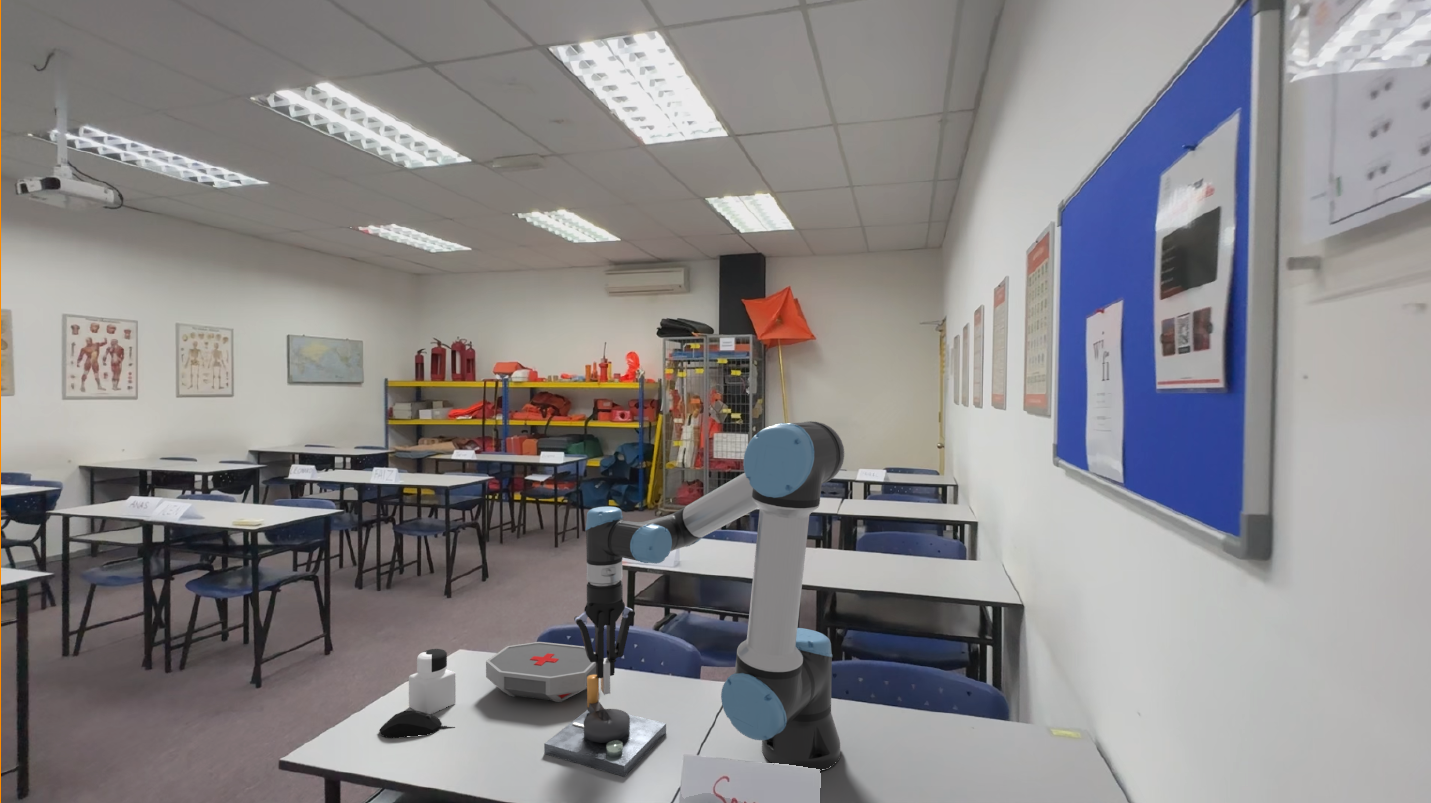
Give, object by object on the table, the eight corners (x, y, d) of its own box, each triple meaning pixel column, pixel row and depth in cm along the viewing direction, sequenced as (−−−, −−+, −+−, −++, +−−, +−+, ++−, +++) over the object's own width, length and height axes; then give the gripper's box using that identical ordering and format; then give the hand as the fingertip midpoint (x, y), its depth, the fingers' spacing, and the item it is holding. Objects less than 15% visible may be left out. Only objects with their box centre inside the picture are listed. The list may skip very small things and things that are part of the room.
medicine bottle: (438, 694, 145) (438, 643, 145) (456, 703, 141) (455, 650, 141) (408, 707, 139) (407, 653, 139) (425, 717, 135) (425, 661, 135)
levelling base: (666, 732, 129) (666, 716, 129) (624, 776, 114) (624, 758, 114) (592, 714, 136) (592, 699, 136) (544, 753, 121) (544, 736, 121)
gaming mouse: (450, 737, 128) (450, 717, 128) (374, 740, 127) (374, 721, 127) (460, 721, 134) (459, 702, 134) (387, 724, 133) (387, 705, 133)
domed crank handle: (636, 734, 123) (636, 699, 123) (592, 747, 119) (591, 710, 119) (611, 702, 136) (611, 670, 136) (570, 712, 132) (570, 679, 132)
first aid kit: (474, 702, 142) (576, 715, 136) (474, 669, 142) (576, 681, 136) (516, 668, 159) (608, 679, 153) (516, 639, 159) (608, 648, 153)
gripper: (578, 590, 127) (579, 705, 128) (639, 581, 133) (639, 692, 133) (570, 580, 134) (571, 689, 134) (628, 572, 139) (629, 677, 140)
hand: (605, 690), depth 134 cm, fingers closed
